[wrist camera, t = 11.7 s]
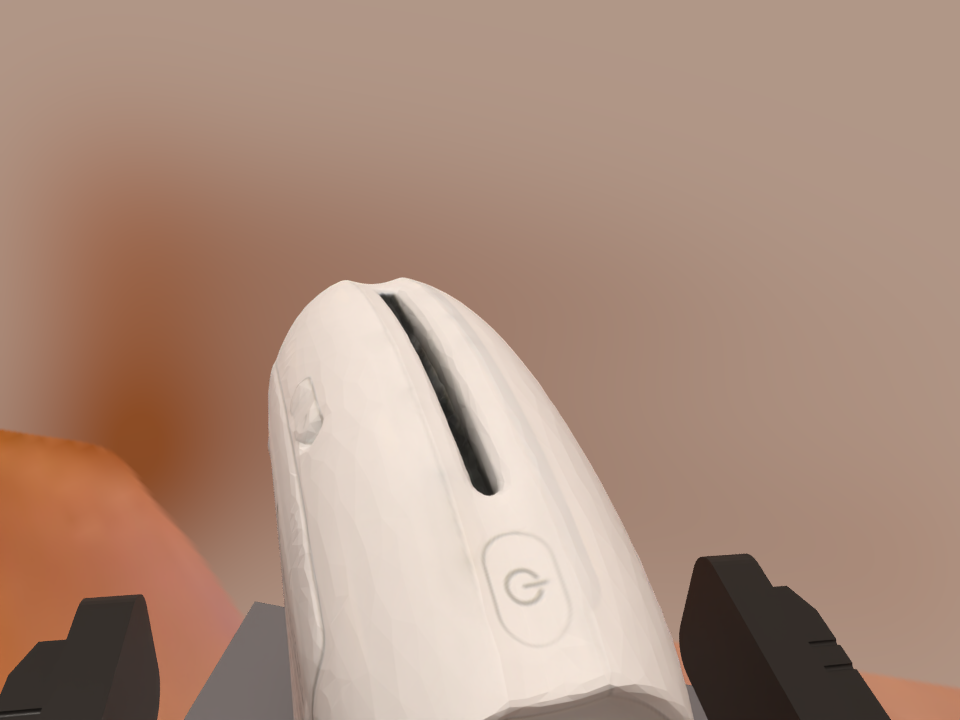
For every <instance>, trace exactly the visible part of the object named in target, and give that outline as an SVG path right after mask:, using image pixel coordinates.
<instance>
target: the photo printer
mask: <svg viewBox="0 0 960 720" xmlns="http://www.w3.org/2000/svg"><path fill="white" fill-rule="evenodd" d="M268 414H269V417H268V418H269V419H268V427H269V439H268V451H269V454H270V458H271V464H272V475H273V486H274V497H275V506H276V518H277V529H278V540H279V550H280V560H281V572H282V583H283V594H284V605H285V616H286V627H287V637H288V649H289V661H290V674H291V688H292V702H293V716H294V720H694V717H693V713H692V709H691V704H690V700H689V695H688V691H687V688H686V684H685V681H684V678H683V674H682V670H681V666H680V662H679V659H678V655H677V652H676V649H675V646H674V643H673V640H672V636H671V634H670V631H669V629H668V626H667V624H666V621H665V619H664V616H663V612H662V610H661V607H660V605H659V603H658V601H657V599H656V596H655V594H654V592H653V589H652V587H651V585H650V582H649V580H648V578H647V576H646V573H645V571H644V568H643V565H642V563H641V560H640V558H639V556H638V555H637V553H636V551H635V549H634V547H633V545H632V543H631V541H630V538H629V537H628V534H627V532H626V530H625V528H624V526H623V524H622V522H621V520H620V518H619V516H618V514H617V512H616V510H615V508H614V507H613V504H612V503H611V501H610V499H609V497H608V495H607V493H606V491H605V489H604V488H603V485H602V484H601V482H600V480H599V478H598V476H597V474H596V473H595V471H594V470H593V468H592V466H591V464H590V462H589V461H588V459H587V458H586V456H585V454H584V452H583V451H582V449H581V447H580V446H579V444H578V442H577V441H576V439H575V437H574V436H573V434H572V433H571V431H570V429H569V428H568V426H567V424H566V423H565V421H564V420H563V418H562V417H561V415H560V414H559V412H558V410H557V409H556V407H555V406H554V404H553V403H552V402H551V400H550V399H549V398H548V396H547V395H546V393H545V391H544V390H543V388H542V387H541V385H540V384H539V383H538V381H537V380H536V379H535V377H534V376H533V375H532V373H531V372H530V371H529V370H528V368H527V367H526V366H525V364H524V363H523V362H522V361H521V359H520V358H519V357H518V356H517V355H516V354H515V352H514V351H513V350H512V349H511V348H510V347H509V345H508V344H507V343H506V342H505V341H504V340H503V339H502V338H501V337H500V336H499V335H498V333H497V332H496V331H495V330H494V329H493V328H491V327H490V326H489V325H488V324H487V323H486V322H485V321H484V320H483V319H481V318H480V317H479V316H478V315H477V314H476V313H474V312H473V311H472V310H470V309H469V308H468V307H466V306H465V305H464V304H462V303H461V302H460V301H458V300H457V299H455V298H453V297H451V296H450V295H448V294H447V293H445V292H442V291H440V290H438V289H436V288H434V287H432V286H429V285H427V284H425V283H422V282H419V281H415V280H412V279H408V278H398V279H395V280H392V281H389V282H385V283H380V284H362V283H357V282H353V281H350V280H344V281H340V282H338V283H336V284H334V285H332V286H330V287H329V288H327V289H326V290H324V291H323V292H322V293H320V294H319V295H318V296H316V297H315V298H314V299H313V300H312V301H311V302H310V303H309V304H308V305H307V306H306V307H305V308H304V310H303V311H302V312H301V313H300V315H299V316H298V317H297V318H296V320H295V322H294V323H293V325H292V326H291V328H290V330H289V332H288V334H287V336H286V338H285V340H284V342H283V344H282V346H281V348H280V351H279V353H278V356H277V359H276V361H275V363H274V365H273V367H272V371H271V376H270V383H269V392H268Z"/></svg>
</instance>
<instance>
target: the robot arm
mask: <svg viewBox="0 0 960 720" xmlns="http://www.w3.org/2000/svg"><path fill="white" fill-rule="evenodd" d="M679 643H680V652H681V657H682V661H683V665H684V668H685V670H686V673H687V675H688V677H689V680H690V682H691V684H692V686H693V688H694V691H695V693H696V695H697V697H698V699H699V701H700V704H701V706H702V708H703V710H704V712H705V715H706V717H707V719H708V720H891V719H890V718H889V716H888V715H887V713H886V712H885V710H884V709H883V707H882V706H881V704H880V703H879V701H878V700H877V699H876V697H875V696H874V694H873V693H872V691H871V690H870V688H869V687H868V685H867V684H866V682H865V681H864V679H863V678H862V676H861V675H860V673H859V672H858V671H857V669H853V667H852V662H851V660H850V659H849V657H848V656H847V654H846V653H845V651H844V650H843V648H842V647H841V646H840V645H837V643H836V638H835V637H834V635H833V634H832V632H831V631H830V630H829V628H828V626H827V625H826V623H825V622H824V621H823V619H822V617H821V616H820V615H819V613H818V612H817V610H816V609H814V608H813V607H812V606H811V605H810V604H808V603H807V602H806V601H805V600H803V599H802V598H801V597H800V596H799V595H797V594H796V593H795V592H794V591H792V590H791V589H790V588H789V587H787V586H780V587H773V586H772V585H771V583H770V581H769V580H768V578H767V577H766V575H765V574H764V572H763V570H762V569H761V567H760V566H759V564H758V563H757V561H756V560H755V559H754V558H753V557H752V556H751V555H749V554H735V555H722V556H707V557H700V558H698V560H697V561H696V563H695V565H694V570H693V573H692V578H691V582H690V587H689V591H688V595H687V599H686V604H685V608H684V612H683V617H682V621H681V625H680V632H679ZM159 699H160V677H159V669H158V663H157V658H156V653H155V647H154V642H153V637H152V632H151V626H150V621H149V616H148V611H147V605H146V601H145V598H144V597H143V595H141V594H139V595H125V596H110V597H96V598H85V599H83V600H82V601H81V603H80V604H79V606H78V609H77V611H76V614H75V617H74V620H73V623H72V625H71V628H70V631H69V634H68V637H67V639H66V640H56V641H43V642H38V643H37V644H36V645H35V646H34V648H33V649H32V650H31V651H30V652H29V653H28V654H27V655H26V656H25V657H24V659H23V660H22V661H21V662H20V663H19V664H18V665H17V666H16V667H15V669H14V670H13V671H12V672H11V673H10V674H9V675H8V678H7V680H6V682H5V685H4V687H3V690H2V692H1V694H0V720H157V716H158V710H159Z"/></svg>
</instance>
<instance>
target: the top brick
mask: <svg viewBox="0 0 960 720" xmlns="http://www.w3.org/2000/svg"><path fill="white" fill-rule="evenodd" d="M686 688H687V691H688V695H689V700H690V704H691V709H692V713H693V717H694V720H708V719H707V717H706V715H705V712H704V710H703V708H702V706H701V704H700V701H699V699H698V697H697V695H696V693H695V691H694V688H693V686H691V685H686ZM184 720H294V716H293V702H292V688H291V674H290V661H289V649H288V637H287V627H286V616H285V607H280V606H276V605H271V604H265V603H260V602H254V604H253V606H252V607H251V609H250V611H249V612H248V614H247V616H246V617H245V619H244V621H243V622H242V624H241V625H240V627H239V629H238V630H237V632H236V634H235V635H234V637H233V639H232V640H231V642H230V644H229V645H228V647H227V649H226V650H225V652H224V654H223V655H222V657H221V659H220V660H219V662H218V664H217V665H216V667H215V669H214V670H213V672H212V674H211V675H210V677H209V679H208V680H207V682H206V684H205V685H204V687H203V689H202V690H201V692H200V694H199V695H198V697H197V699H196V700H195V702H194V704H193V705H192V707H191V709H190V710H189V712H188V714H187V715H186V717H185V719H184Z"/></svg>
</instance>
